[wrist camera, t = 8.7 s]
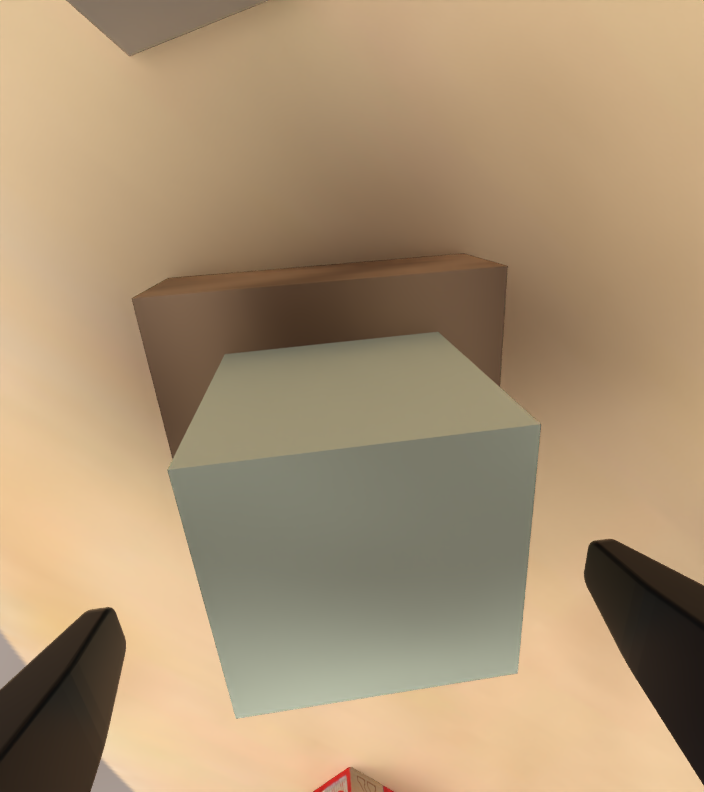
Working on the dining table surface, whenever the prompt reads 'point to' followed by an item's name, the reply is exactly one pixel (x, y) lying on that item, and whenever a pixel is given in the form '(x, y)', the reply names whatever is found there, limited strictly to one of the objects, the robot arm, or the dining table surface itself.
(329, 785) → the stack of blocks
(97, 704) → the robot arm
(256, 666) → the sage cube
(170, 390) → the walnut block
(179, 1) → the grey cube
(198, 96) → the dining table surface
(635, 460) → the dining table surface
